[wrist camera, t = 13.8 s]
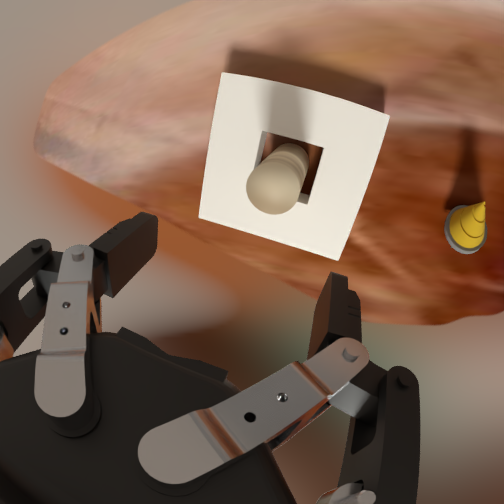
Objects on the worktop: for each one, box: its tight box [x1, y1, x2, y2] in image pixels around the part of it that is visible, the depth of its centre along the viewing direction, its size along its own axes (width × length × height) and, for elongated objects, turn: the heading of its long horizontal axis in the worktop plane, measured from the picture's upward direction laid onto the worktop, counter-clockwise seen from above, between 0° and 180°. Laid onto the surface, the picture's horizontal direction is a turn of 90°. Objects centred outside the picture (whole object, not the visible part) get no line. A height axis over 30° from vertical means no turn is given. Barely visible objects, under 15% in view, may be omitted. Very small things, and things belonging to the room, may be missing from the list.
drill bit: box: [444, 202, 487, 254], centre depth 24 cm, size 5×5×10 cm
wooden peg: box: [246, 143, 309, 215], centre depth 25 cm, size 4×4×10 cm
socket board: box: [199, 72, 390, 261], centre depth 28 cm, size 16×16×3 cm
